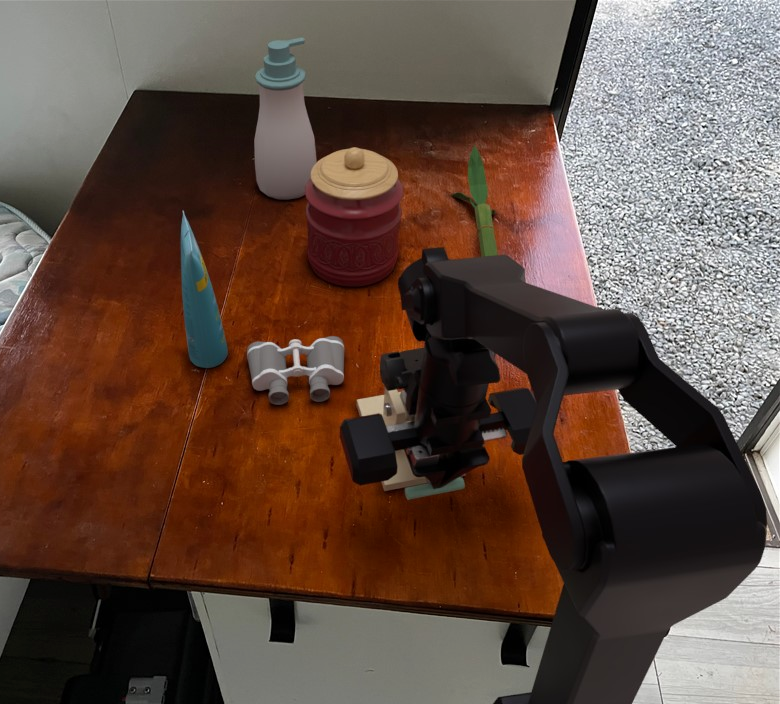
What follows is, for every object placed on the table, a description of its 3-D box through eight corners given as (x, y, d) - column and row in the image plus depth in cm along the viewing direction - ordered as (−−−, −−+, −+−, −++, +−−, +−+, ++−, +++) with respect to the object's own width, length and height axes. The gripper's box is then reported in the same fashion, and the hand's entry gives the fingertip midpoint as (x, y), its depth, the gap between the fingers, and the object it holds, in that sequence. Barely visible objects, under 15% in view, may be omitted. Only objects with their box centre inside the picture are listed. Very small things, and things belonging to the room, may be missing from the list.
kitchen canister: (292, 275, 100) (285, 164, 87) (328, 224, 108) (327, 116, 95) (379, 299, 96) (385, 186, 83) (410, 244, 104) (420, 134, 91)
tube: (234, 369, 87) (215, 244, 74) (196, 380, 86) (169, 255, 73) (220, 330, 92) (199, 206, 79) (183, 339, 91) (156, 215, 78)
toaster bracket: (465, 475, 76) (475, 431, 70) (384, 491, 75) (388, 447, 69) (430, 392, 84) (436, 346, 78) (356, 406, 83) (357, 360, 77)
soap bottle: (327, 191, 114) (325, 49, 98) (271, 208, 111) (260, 65, 95) (301, 163, 120) (295, 25, 104) (247, 178, 117) (233, 39, 101)
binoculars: (343, 351, 89) (343, 331, 87) (350, 400, 84) (351, 380, 81) (248, 358, 89) (245, 338, 86) (249, 407, 83) (246, 388, 81)
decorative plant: (469, 310, 90) (448, 148, 106) (469, 345, 97) (450, 188, 113) (519, 306, 89) (490, 143, 105) (515, 341, 96) (489, 183, 112)
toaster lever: (461, 490, 73) (467, 486, 71) (405, 501, 72) (409, 497, 70) (433, 391, 77) (438, 384, 75) (380, 401, 76) (383, 393, 74)
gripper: (519, 302, 67) (493, 408, 78) (325, 334, 64) (327, 438, 76) (573, 389, 59) (535, 493, 70) (355, 429, 57) (352, 529, 68)
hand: (435, 484), depth 71 cm, fingers closed
